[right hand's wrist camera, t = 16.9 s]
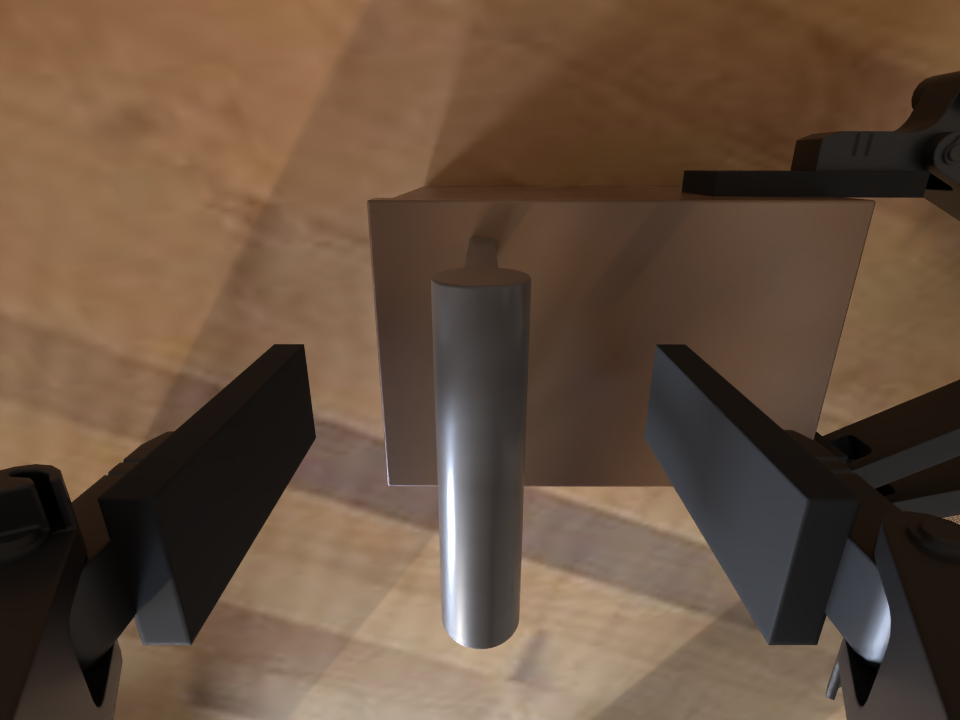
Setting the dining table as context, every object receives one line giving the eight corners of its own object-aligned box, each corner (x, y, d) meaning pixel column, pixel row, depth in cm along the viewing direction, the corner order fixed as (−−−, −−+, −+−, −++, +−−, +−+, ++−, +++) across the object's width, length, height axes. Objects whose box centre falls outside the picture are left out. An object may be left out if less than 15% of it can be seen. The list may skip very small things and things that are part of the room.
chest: (429, 376, 27) (407, 469, 18) (422, 186, 23) (391, 198, 15) (691, 376, 27) (784, 469, 18) (721, 186, 23) (850, 198, 15)
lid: (392, 469, 18) (331, 679, 11) (373, 197, 15) (267, 229, 8) (785, 470, 18) (994, 682, 11) (851, 198, 15) (1217, 230, 8)
